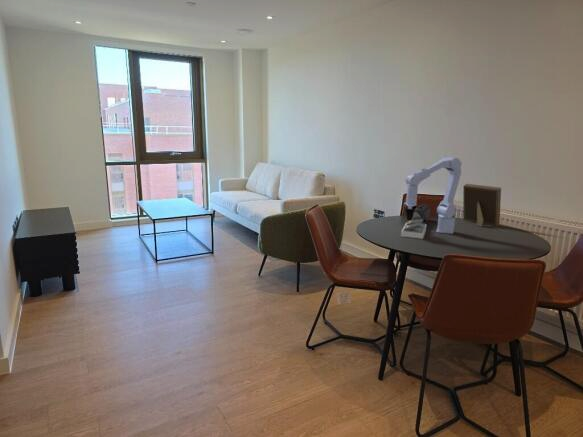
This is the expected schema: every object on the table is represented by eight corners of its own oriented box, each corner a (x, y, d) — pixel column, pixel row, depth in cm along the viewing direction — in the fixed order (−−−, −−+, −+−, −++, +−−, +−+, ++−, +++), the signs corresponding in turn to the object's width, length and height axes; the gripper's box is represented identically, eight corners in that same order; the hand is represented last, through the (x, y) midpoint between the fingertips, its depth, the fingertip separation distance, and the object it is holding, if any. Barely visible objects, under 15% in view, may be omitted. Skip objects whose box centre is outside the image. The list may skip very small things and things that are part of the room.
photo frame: (466, 219, 272) (470, 183, 266) (499, 225, 256) (504, 186, 250) (456, 222, 262) (460, 184, 256) (489, 228, 246) (495, 188, 241)
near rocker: (421, 224, 229) (420, 221, 229) (419, 227, 221) (419, 225, 221) (407, 227, 233) (406, 225, 233) (405, 231, 225) (404, 228, 225)
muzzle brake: (430, 219, 269) (431, 204, 267) (421, 228, 245) (422, 211, 243) (415, 218, 273) (417, 203, 271) (405, 226, 250) (407, 210, 247)
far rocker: (423, 220, 240) (422, 218, 240) (421, 224, 232) (421, 221, 232) (409, 222, 243) (409, 220, 243) (407, 226, 235) (407, 223, 235)
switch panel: (426, 229, 242) (426, 222, 241) (422, 238, 220) (423, 231, 219) (405, 227, 246) (406, 220, 246) (400, 236, 225) (401, 229, 224)
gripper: (406, 193, 235) (404, 215, 238) (403, 197, 222) (401, 220, 225) (418, 194, 232) (416, 216, 235) (416, 198, 219) (414, 222, 222)
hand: (410, 218), depth 230 cm, fingers open, 7 cm apart
